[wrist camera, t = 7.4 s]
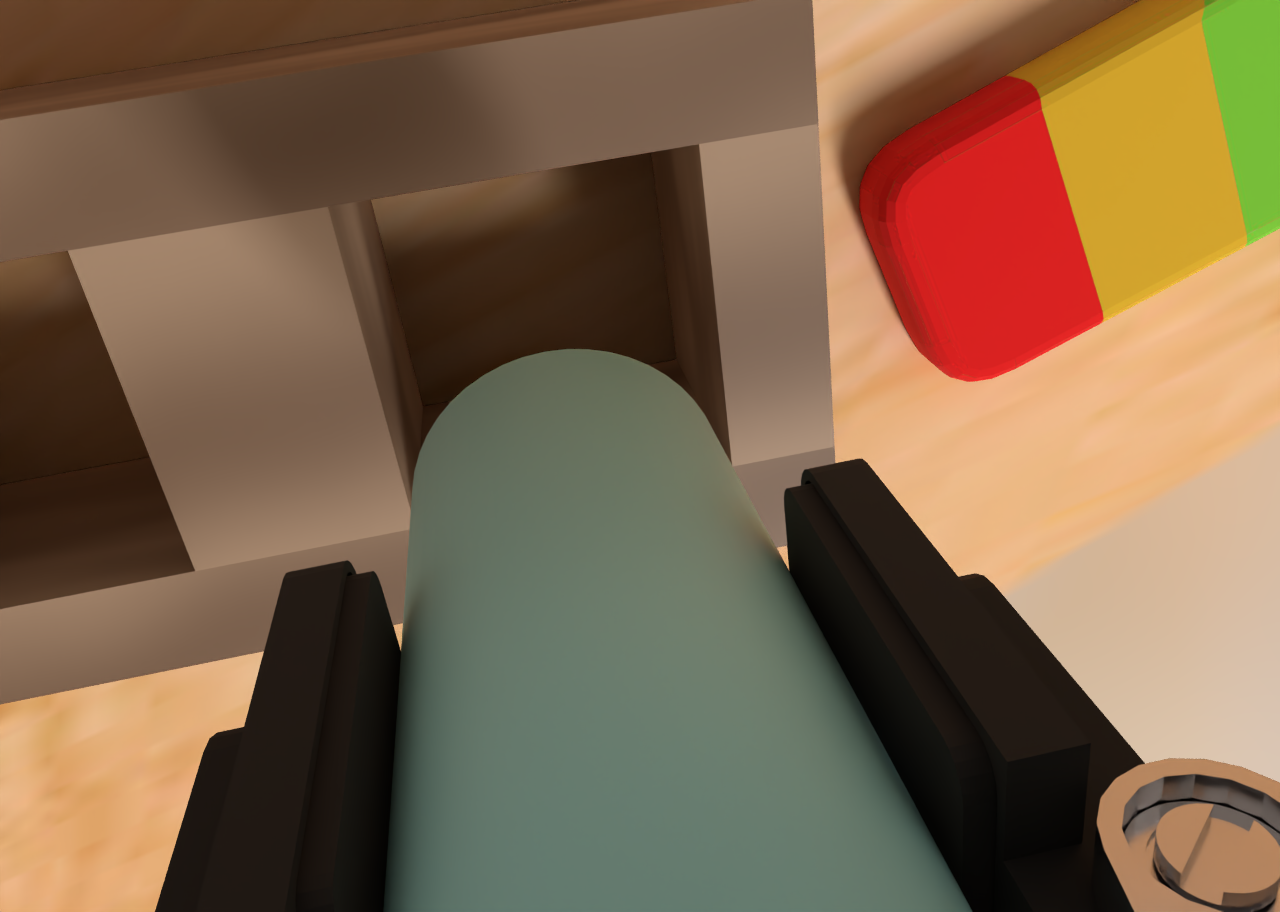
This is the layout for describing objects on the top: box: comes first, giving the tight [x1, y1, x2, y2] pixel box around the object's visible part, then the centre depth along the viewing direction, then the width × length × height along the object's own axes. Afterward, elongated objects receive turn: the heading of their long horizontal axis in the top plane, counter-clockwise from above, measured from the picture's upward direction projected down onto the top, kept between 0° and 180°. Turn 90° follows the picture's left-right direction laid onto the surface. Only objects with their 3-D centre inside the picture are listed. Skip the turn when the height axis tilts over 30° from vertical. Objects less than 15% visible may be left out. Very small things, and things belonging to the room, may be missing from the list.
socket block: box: [0, 0, 835, 704], centre depth 18 cm, size 9×18×5 cm, turn 98°
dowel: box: [383, 349, 972, 912], centre depth 8 cm, size 4×4×11 cm
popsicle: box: [859, 0, 1280, 382], centre depth 21 cm, size 6×15×2 cm, turn 117°
